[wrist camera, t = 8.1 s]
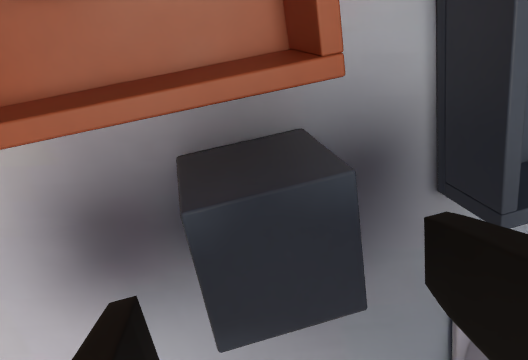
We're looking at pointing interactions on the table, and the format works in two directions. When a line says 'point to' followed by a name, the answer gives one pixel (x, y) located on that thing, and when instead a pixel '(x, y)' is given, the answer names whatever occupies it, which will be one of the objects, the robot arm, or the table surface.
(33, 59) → the terracotta bin
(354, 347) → the table surface
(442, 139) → the slate bin
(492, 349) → the robot arm
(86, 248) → the table surface
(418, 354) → the table surface
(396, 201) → the table surface
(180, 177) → the slate block
